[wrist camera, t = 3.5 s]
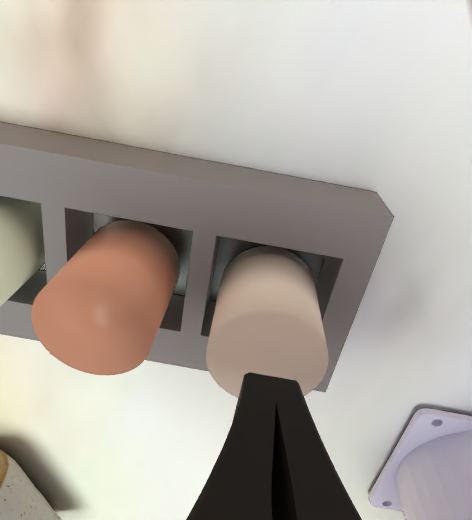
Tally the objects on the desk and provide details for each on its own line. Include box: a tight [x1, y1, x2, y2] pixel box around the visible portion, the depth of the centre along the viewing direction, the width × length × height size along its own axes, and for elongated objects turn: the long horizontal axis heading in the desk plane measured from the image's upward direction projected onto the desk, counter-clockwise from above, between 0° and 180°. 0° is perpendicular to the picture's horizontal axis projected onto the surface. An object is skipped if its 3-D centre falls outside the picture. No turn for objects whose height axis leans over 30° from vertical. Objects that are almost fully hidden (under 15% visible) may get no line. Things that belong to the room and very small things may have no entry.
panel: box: [0, 122, 394, 392], centre depth 15 cm, size 17×8×2 cm, turn 81°
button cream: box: [206, 246, 329, 398], centre depth 13 cm, size 4×4×4 cm
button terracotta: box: [31, 220, 180, 375], centre depth 13 cm, size 4×4×4 cm
